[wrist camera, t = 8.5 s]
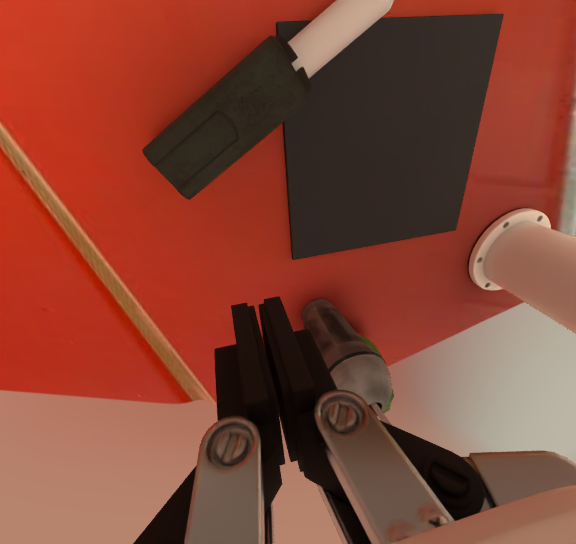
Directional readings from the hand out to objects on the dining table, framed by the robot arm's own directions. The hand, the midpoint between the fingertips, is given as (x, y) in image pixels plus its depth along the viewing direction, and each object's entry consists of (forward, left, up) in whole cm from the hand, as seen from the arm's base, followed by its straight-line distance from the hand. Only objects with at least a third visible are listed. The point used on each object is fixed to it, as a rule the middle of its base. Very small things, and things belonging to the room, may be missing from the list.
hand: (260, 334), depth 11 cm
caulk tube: (+4, -2, -21) cm, 21 cm away
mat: (-18, -1, -23) cm, 29 cm away
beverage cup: (-10, +19, -24) cm, 32 cm away
